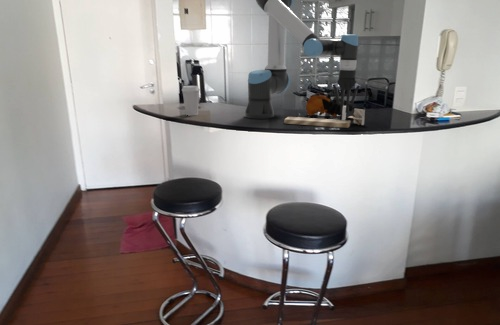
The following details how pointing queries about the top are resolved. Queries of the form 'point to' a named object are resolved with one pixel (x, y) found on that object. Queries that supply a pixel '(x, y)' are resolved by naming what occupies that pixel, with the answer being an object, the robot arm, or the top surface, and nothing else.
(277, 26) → the robot arm
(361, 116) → the architectural model
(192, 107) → the coffee cup
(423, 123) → the top surface
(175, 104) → the top surface
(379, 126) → the top surface
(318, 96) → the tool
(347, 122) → the board
